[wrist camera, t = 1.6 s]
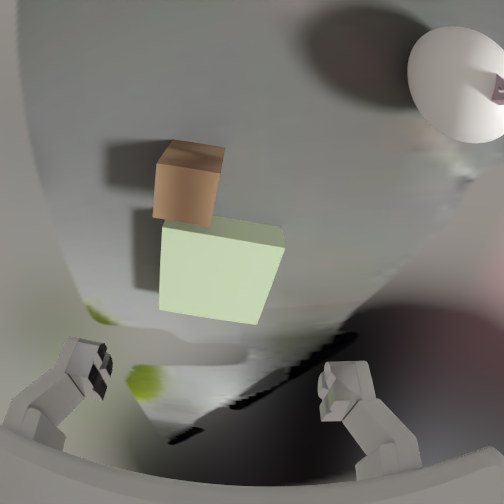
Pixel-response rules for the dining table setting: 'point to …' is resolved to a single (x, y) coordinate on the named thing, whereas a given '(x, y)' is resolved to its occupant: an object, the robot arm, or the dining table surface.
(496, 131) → the ornament
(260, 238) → the base box
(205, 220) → the walnut block
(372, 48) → the dining table surface
